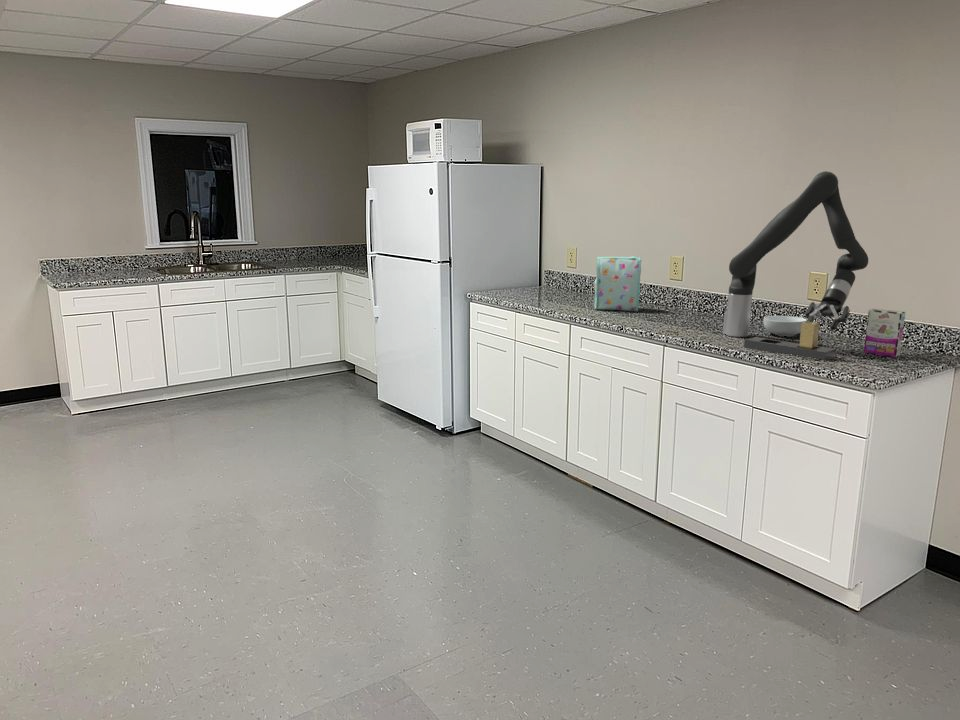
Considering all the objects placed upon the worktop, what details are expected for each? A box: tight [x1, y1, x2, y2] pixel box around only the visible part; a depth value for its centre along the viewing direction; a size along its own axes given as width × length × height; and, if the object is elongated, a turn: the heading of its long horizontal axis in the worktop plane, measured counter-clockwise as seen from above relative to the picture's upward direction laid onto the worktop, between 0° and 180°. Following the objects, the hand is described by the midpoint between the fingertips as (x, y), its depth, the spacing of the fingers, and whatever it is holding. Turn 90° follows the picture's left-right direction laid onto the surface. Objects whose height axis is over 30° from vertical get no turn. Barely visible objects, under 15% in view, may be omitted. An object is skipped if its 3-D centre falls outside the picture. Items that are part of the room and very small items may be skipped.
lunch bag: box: [593, 255, 642, 312], centre depth 371 cm, size 23×16×27 cm
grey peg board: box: [743, 336, 837, 361], centre depth 271 cm, size 30×9×3 cm, turn 43°
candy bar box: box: [863, 308, 906, 358], centre depth 269 cm, size 11×5×16 cm, turn 45°
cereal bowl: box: [763, 315, 808, 338], centre depth 307 cm, size 17×17×7 cm
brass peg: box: [798, 321, 820, 350], centre depth 265 cm, size 4×4×12 cm
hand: (819, 327), depth 270 cm, fingers open, 8 cm apart
